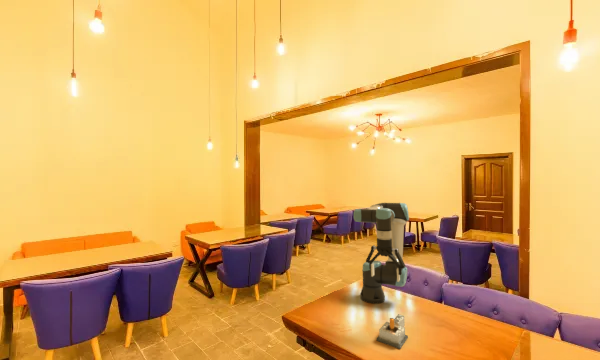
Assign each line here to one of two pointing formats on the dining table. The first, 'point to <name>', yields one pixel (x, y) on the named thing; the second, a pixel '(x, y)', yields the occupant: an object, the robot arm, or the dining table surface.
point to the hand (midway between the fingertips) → (385, 278)
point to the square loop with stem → (398, 330)
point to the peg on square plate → (391, 342)
